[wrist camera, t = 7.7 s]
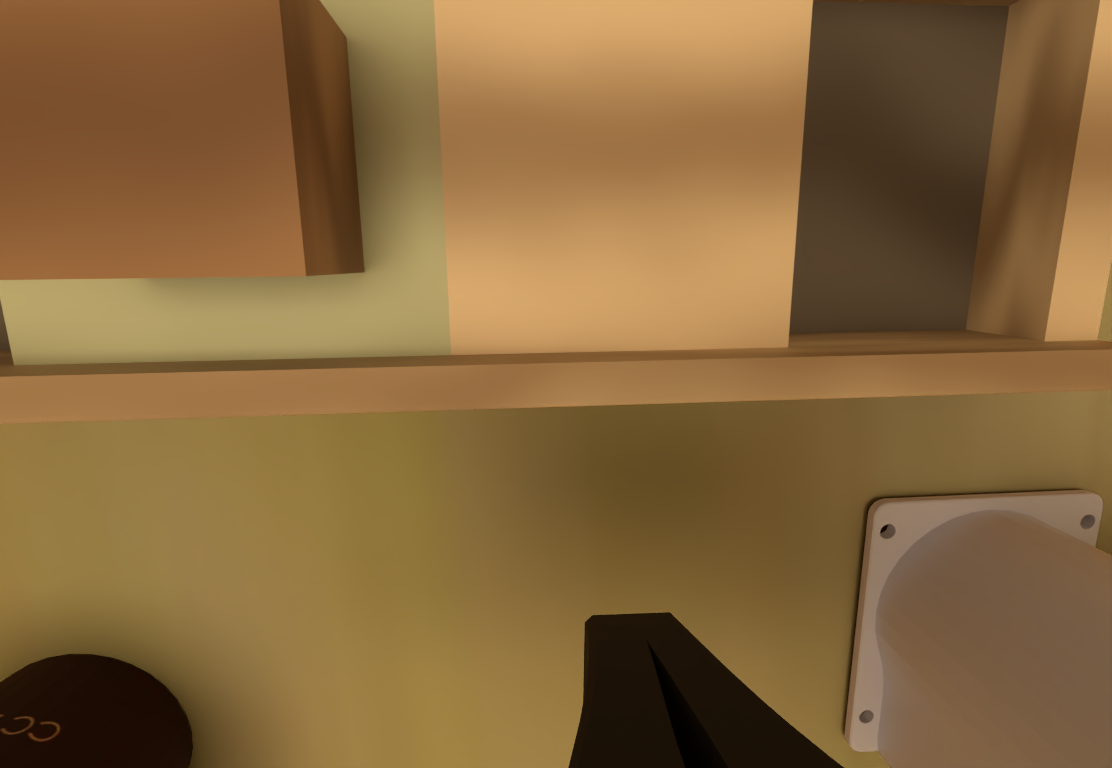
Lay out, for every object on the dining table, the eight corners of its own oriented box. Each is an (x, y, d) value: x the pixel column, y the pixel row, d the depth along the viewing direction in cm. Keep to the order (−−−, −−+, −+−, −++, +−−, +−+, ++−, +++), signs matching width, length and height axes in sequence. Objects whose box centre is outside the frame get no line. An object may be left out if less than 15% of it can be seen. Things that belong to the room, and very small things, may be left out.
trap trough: (998, 359, 19) (1150, 388, 14) (-218, 389, 16) (-497, 438, 11) (1055, -28, 16) (1257, -136, 12) (-352, -67, 14) (-763, -224, 9)
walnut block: (364, 272, 14) (306, 276, 10) (140, 275, 13) (-15, 280, 9) (346, 37, 13) (272, -65, 9) (102, 33, 12) (-90, -76, 8)
